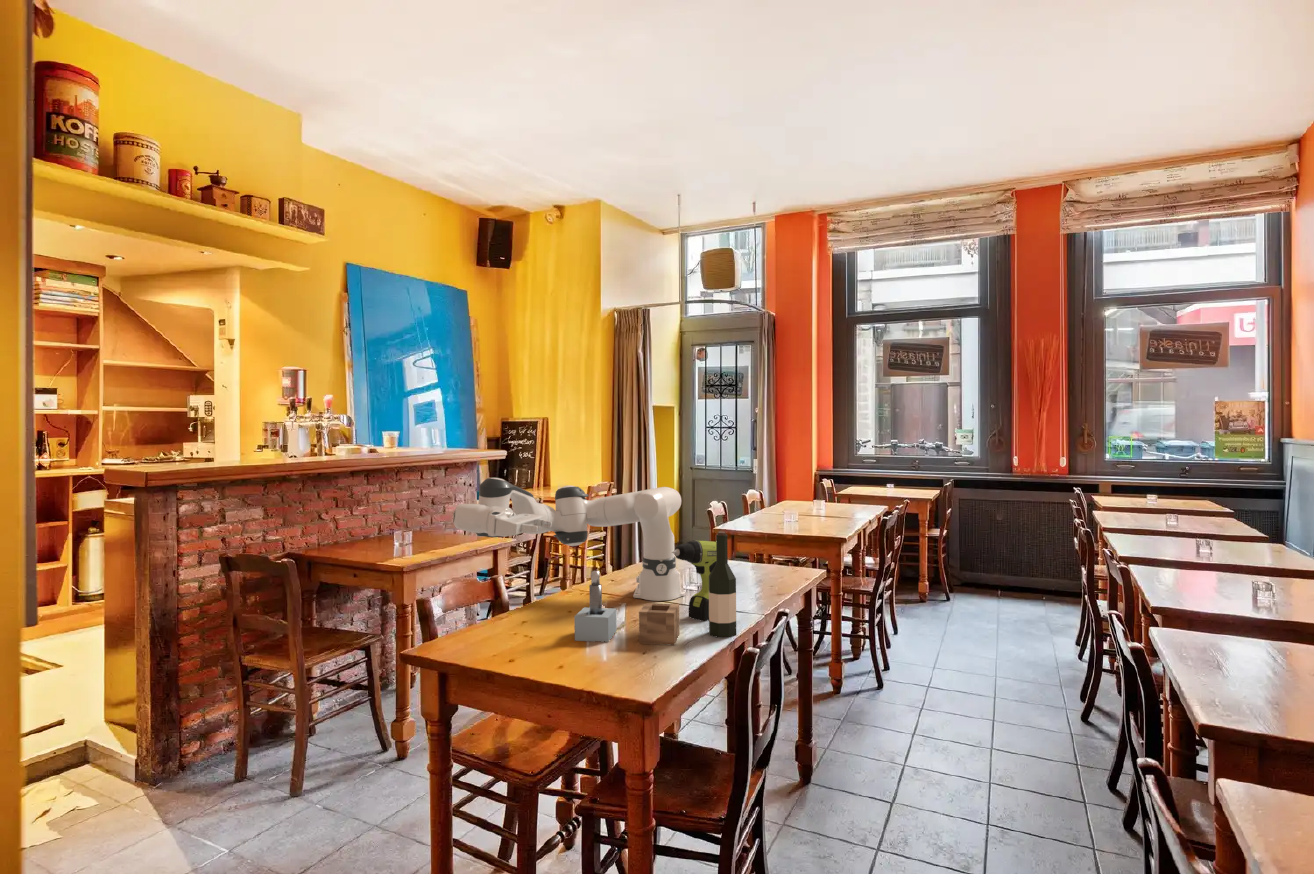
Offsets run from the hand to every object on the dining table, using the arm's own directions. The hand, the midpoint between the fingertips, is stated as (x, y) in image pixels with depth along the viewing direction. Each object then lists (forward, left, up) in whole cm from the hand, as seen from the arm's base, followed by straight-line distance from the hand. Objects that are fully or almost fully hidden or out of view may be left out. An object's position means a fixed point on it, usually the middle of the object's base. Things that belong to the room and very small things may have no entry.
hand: (544, 526), depth 212 cm
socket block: (+7, +15, -32) cm, 35 cm away
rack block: (+13, +33, -32) cm, 47 cm away
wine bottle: (+11, +52, -32) cm, 62 cm away
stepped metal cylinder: (+7, +15, -29) cm, 33 cm away
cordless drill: (-6, +48, -32) cm, 58 cm away
